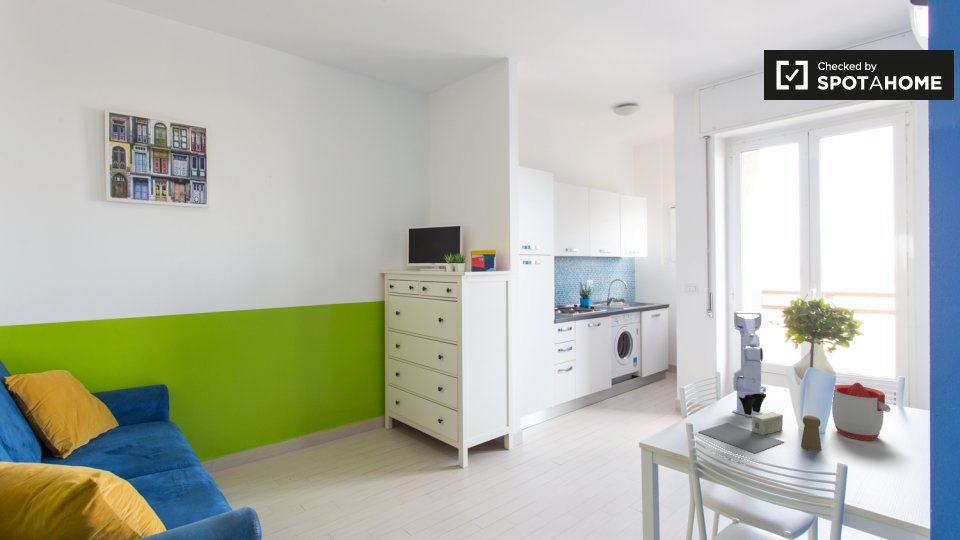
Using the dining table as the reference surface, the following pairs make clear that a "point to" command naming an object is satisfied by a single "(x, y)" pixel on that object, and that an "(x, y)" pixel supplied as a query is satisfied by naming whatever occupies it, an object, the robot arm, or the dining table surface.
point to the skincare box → (767, 423)
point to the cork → (811, 433)
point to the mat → (741, 437)
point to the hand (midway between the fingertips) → (752, 412)
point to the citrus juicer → (858, 411)
